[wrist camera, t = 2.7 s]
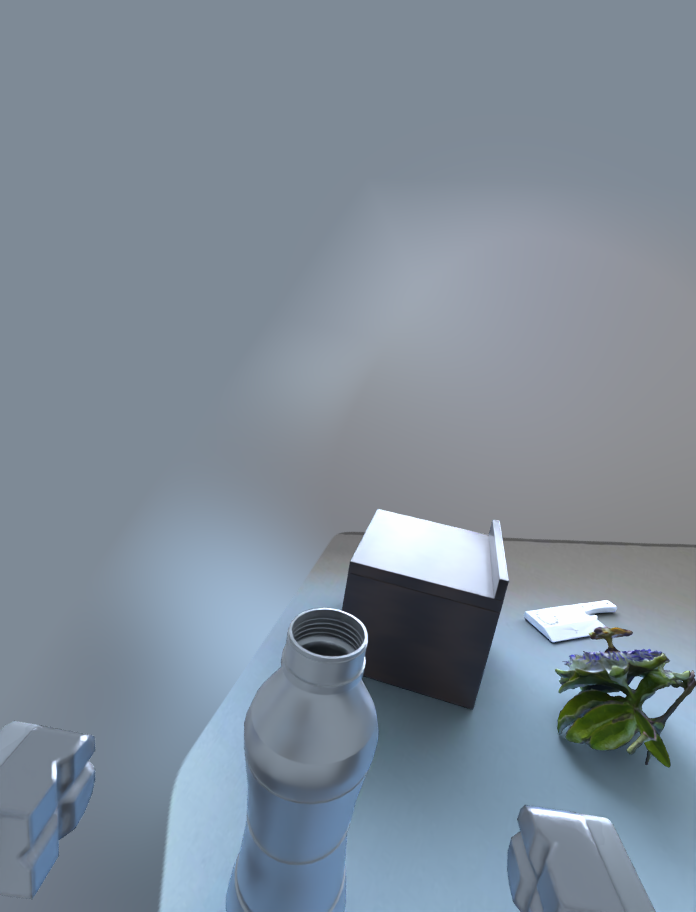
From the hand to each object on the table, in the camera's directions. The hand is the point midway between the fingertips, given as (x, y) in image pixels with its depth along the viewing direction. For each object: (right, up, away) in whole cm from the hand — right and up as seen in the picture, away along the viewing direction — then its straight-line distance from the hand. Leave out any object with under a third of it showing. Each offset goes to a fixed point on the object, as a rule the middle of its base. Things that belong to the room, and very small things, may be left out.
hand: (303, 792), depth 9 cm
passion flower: (+26, -20, +36) cm, 49 cm away
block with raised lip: (+8, -15, +44) cm, 47 cm away
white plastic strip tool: (+31, -16, +53) cm, 63 cm away
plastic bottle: (-3, -21, +18) cm, 28 cm away
